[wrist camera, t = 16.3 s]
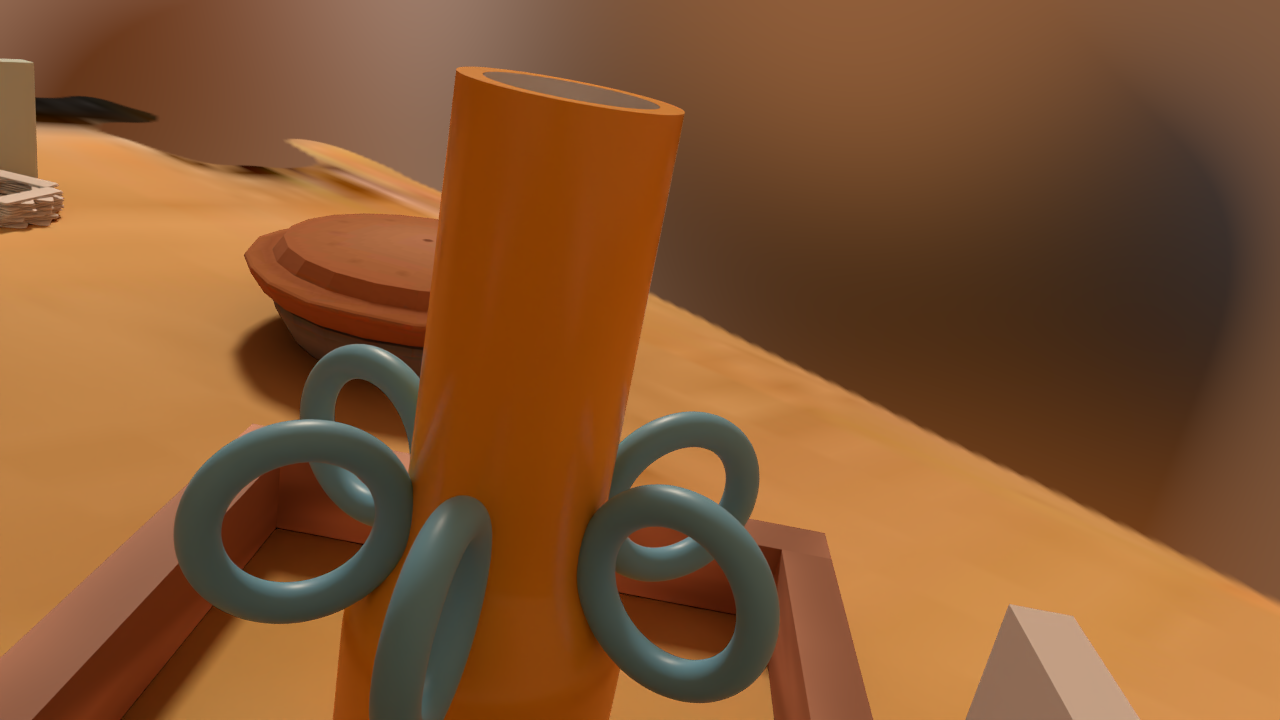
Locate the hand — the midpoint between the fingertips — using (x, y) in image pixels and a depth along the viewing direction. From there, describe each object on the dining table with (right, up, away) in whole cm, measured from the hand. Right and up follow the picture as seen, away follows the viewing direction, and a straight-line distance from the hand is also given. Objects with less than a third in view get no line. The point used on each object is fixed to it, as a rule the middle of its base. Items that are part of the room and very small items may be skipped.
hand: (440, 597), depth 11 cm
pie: (-8, +3, +34) cm, 36 cm away
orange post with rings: (-2, -7, +11) cm, 13 cm away
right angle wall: (-33, +10, +41) cm, 54 cm away
